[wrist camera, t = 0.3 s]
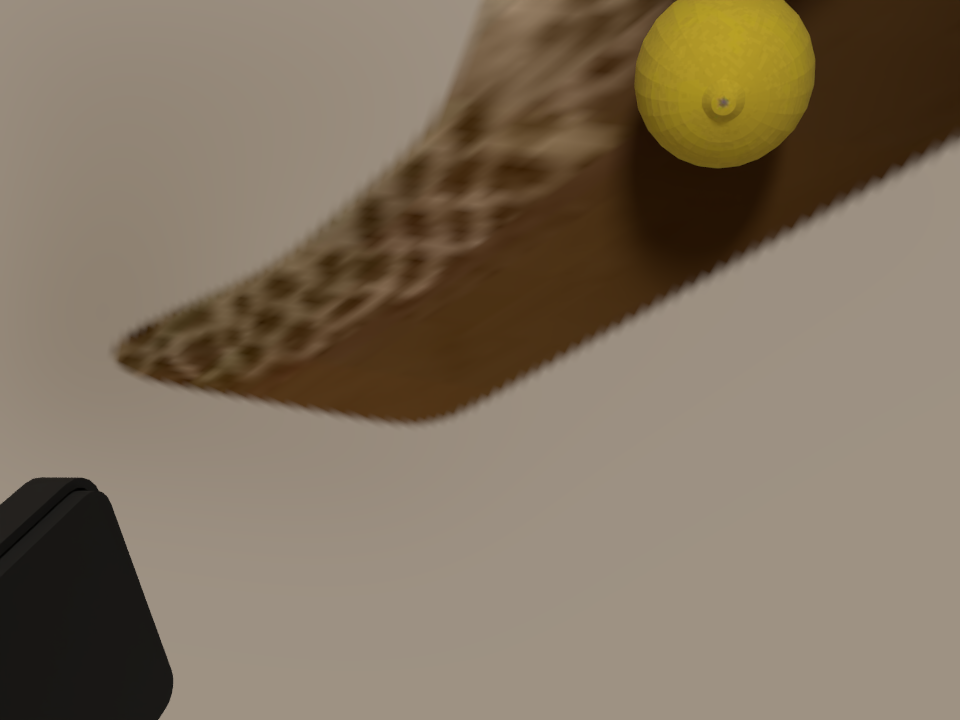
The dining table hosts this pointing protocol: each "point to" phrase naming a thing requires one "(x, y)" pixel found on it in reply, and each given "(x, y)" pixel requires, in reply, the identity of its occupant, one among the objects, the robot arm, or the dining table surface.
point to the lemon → (724, 79)
